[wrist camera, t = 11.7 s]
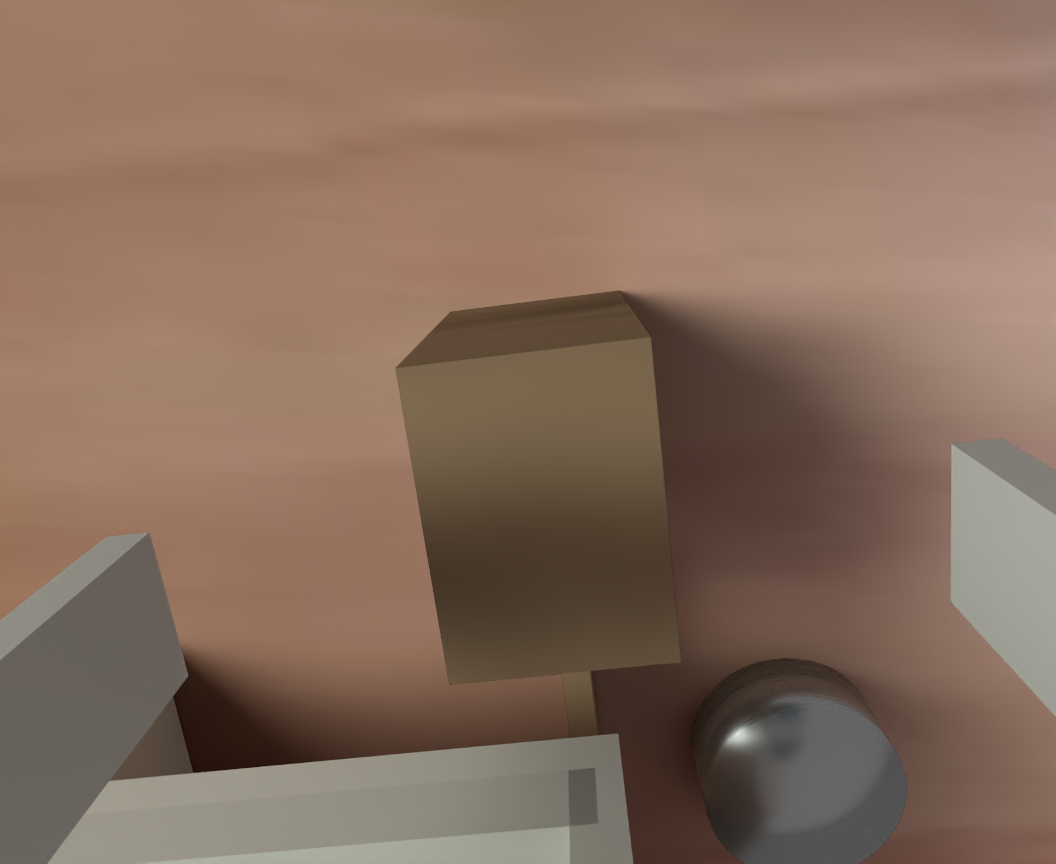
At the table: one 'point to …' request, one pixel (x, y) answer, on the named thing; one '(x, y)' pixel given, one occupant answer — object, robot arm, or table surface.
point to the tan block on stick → (543, 493)
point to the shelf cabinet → (362, 807)
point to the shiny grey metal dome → (796, 766)
